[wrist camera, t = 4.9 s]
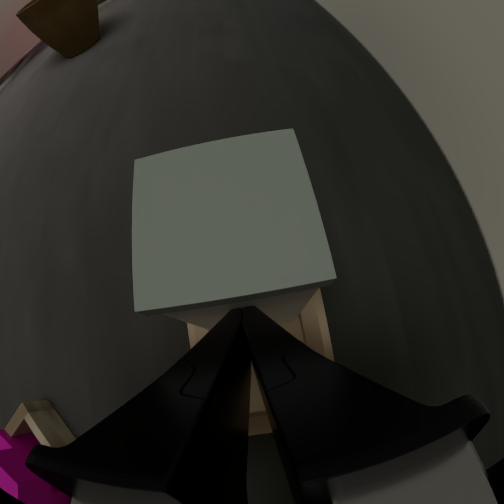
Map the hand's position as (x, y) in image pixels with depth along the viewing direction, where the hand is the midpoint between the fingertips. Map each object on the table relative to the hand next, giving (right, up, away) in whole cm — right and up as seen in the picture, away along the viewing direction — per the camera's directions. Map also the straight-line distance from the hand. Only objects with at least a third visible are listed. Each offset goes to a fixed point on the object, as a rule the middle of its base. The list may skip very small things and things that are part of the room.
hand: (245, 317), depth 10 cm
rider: (0, 0, +9) cm, 9 cm away
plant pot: (-32, +41, +27) cm, 59 cm away
